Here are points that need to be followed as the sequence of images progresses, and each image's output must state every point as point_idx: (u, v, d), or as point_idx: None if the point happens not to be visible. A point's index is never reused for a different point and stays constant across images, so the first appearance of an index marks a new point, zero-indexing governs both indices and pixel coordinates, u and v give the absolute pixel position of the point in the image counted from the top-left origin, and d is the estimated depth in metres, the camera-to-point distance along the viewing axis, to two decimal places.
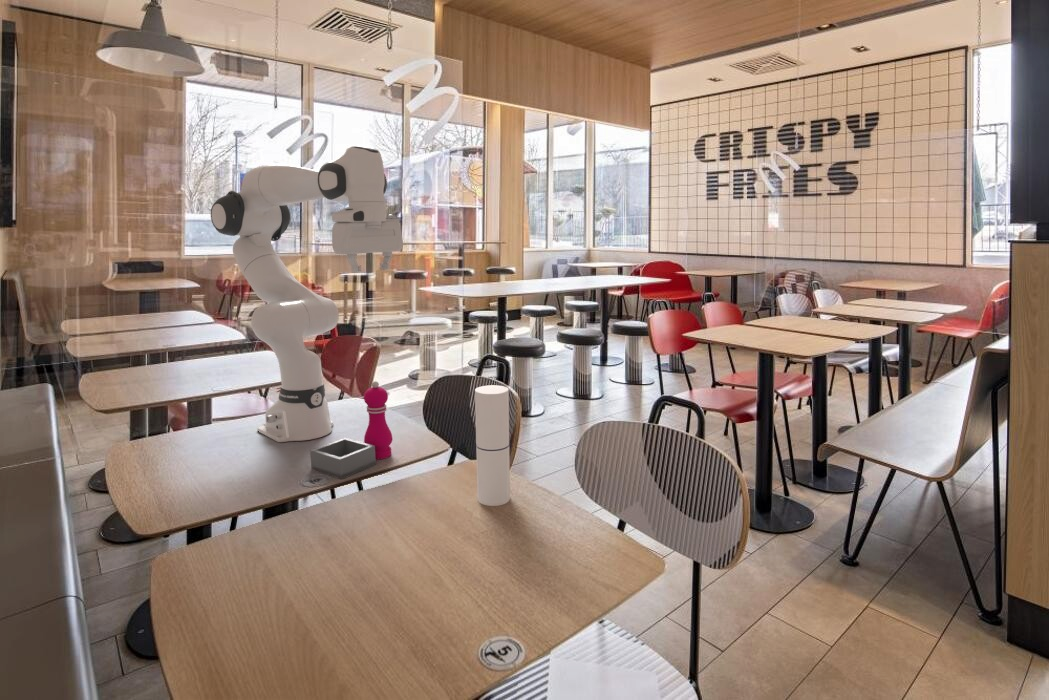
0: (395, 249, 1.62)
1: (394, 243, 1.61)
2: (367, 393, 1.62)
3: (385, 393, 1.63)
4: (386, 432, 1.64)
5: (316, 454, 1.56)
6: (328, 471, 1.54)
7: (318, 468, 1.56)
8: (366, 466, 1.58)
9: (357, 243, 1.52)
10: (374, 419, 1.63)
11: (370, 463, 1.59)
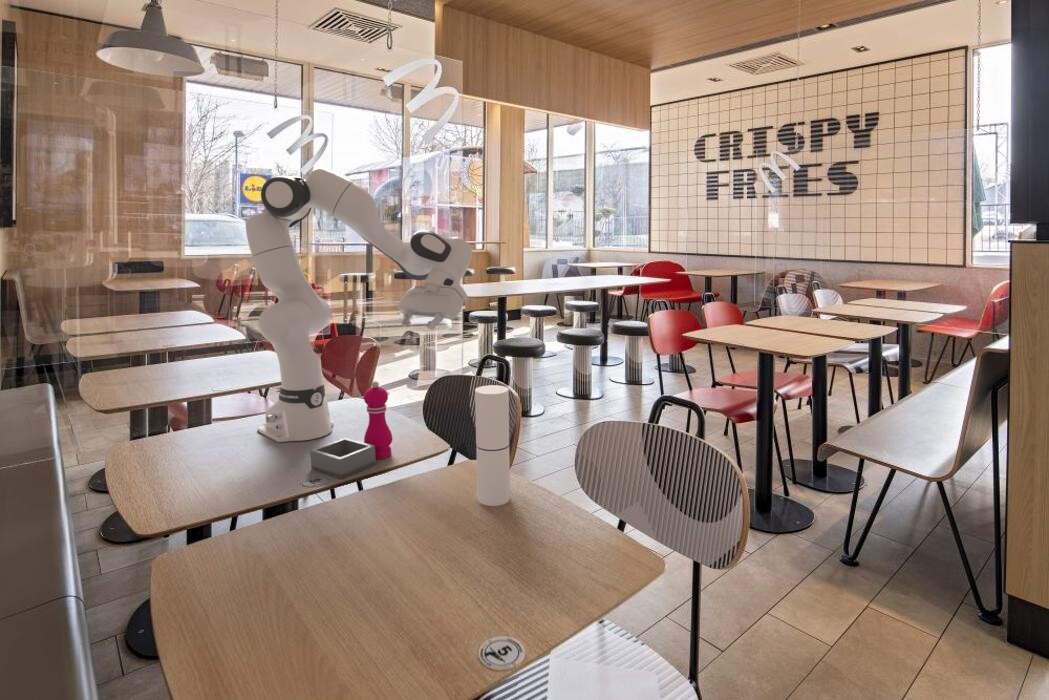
0: None
1: None
2: (367, 393, 1.62)
3: (385, 393, 1.63)
4: (386, 432, 1.64)
5: (316, 454, 1.56)
6: (328, 471, 1.54)
7: (318, 468, 1.56)
8: (366, 466, 1.58)
9: None
10: (374, 419, 1.63)
11: (370, 463, 1.59)
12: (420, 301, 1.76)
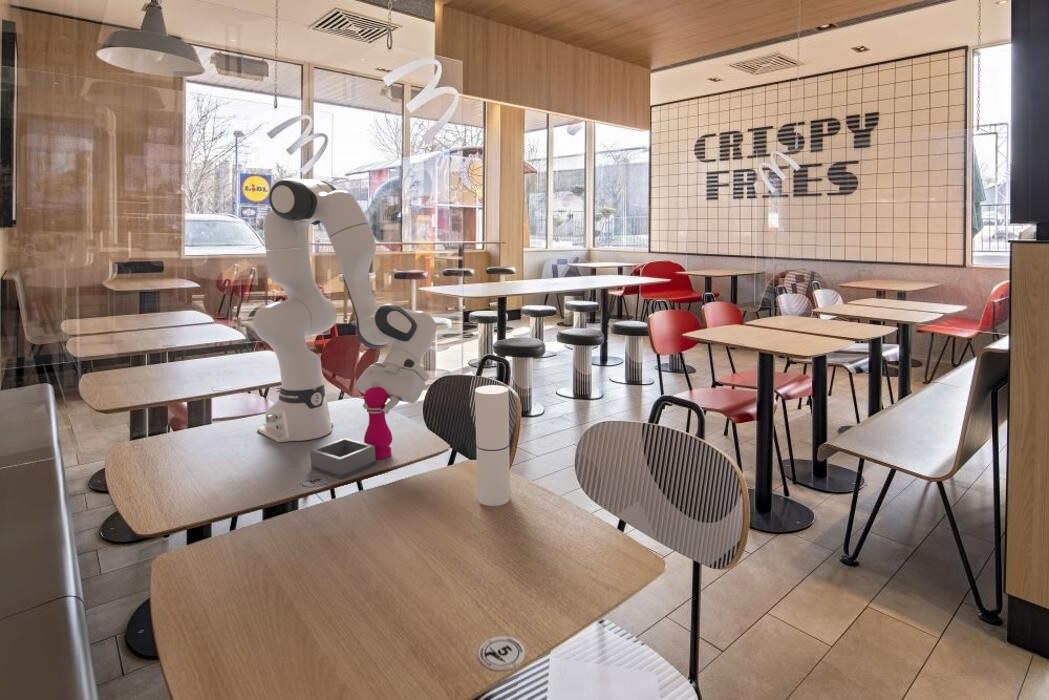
0: None
1: None
2: (367, 393, 1.62)
3: (385, 393, 1.63)
4: (386, 432, 1.64)
5: (316, 454, 1.56)
6: (328, 471, 1.54)
7: (318, 468, 1.56)
8: (366, 466, 1.58)
9: None
10: (374, 419, 1.63)
11: (370, 463, 1.59)
12: (379, 382, 1.67)
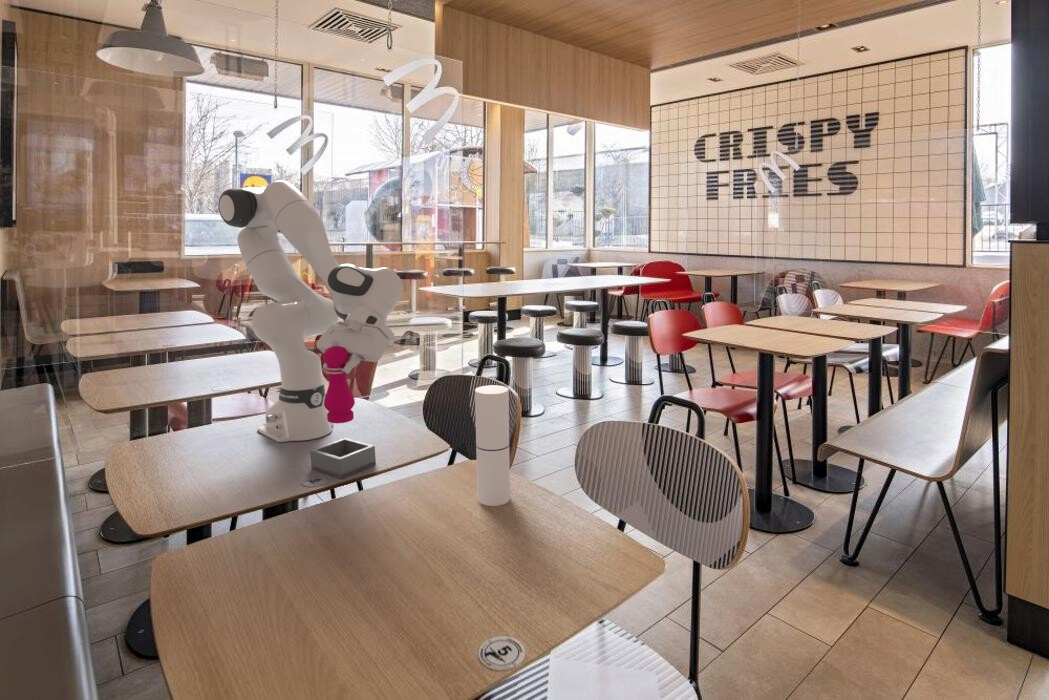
0: None
1: None
2: (326, 352, 1.51)
3: (346, 352, 1.53)
4: (348, 394, 1.54)
5: (316, 454, 1.56)
6: (328, 471, 1.54)
7: (318, 468, 1.56)
8: (366, 466, 1.58)
9: None
10: (334, 380, 1.53)
11: (370, 463, 1.59)
12: (341, 340, 1.57)
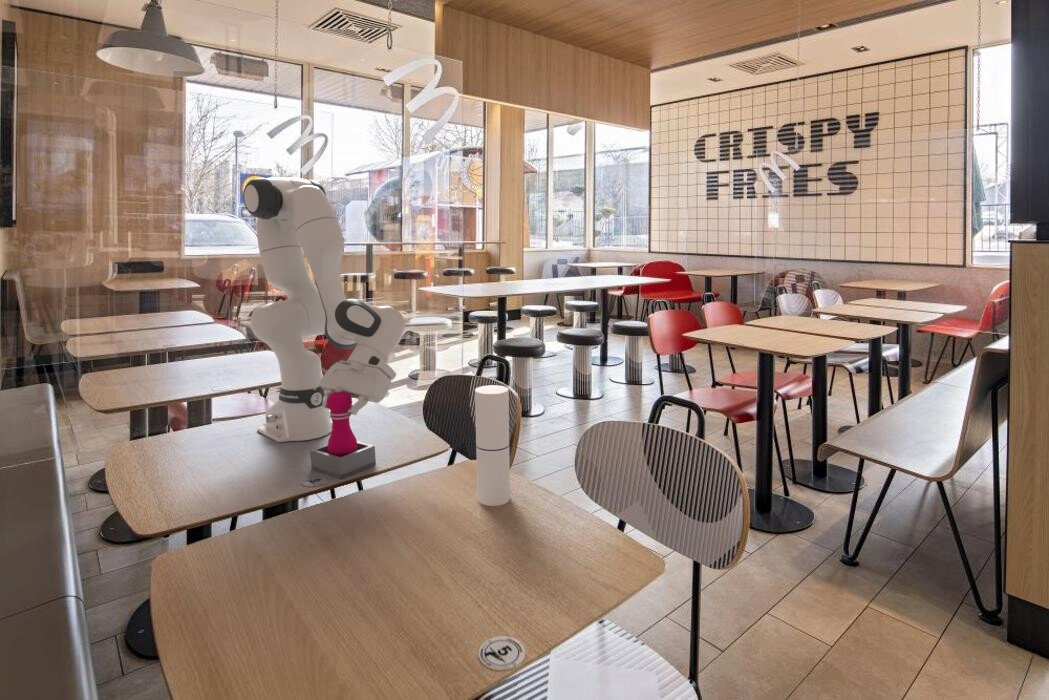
0: None
1: None
2: (330, 398, 1.54)
3: (349, 398, 1.55)
4: (351, 439, 1.56)
5: (316, 454, 1.56)
6: (328, 471, 1.54)
7: (318, 468, 1.56)
8: (366, 466, 1.58)
9: None
10: (337, 425, 1.55)
11: (370, 463, 1.59)
12: (343, 380, 1.59)
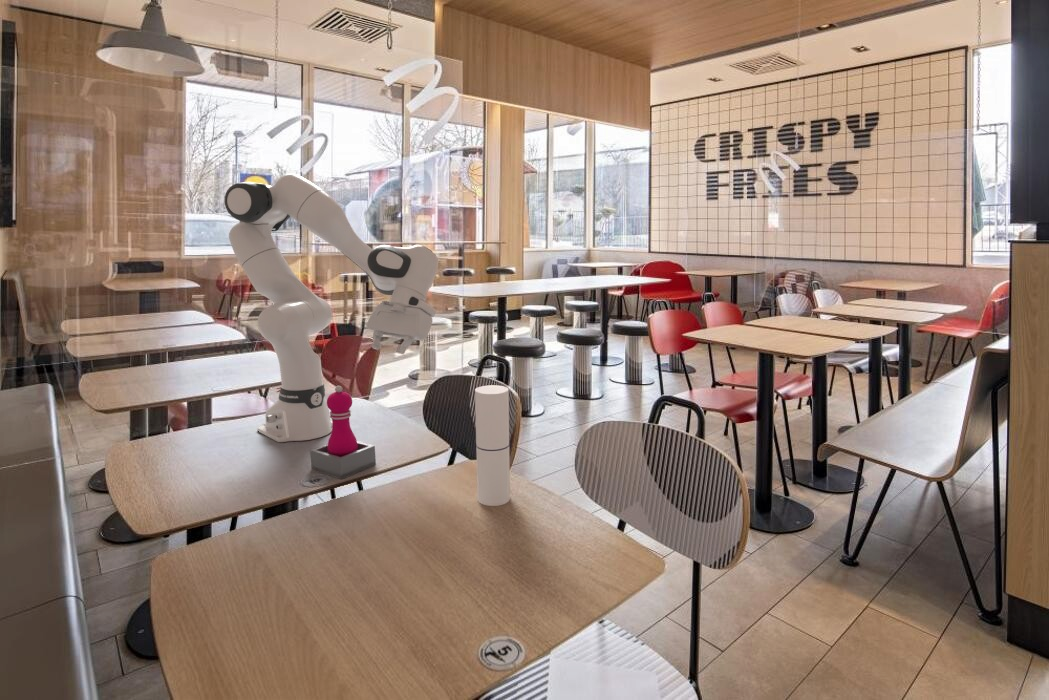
0: None
1: None
2: (330, 398, 1.54)
3: (349, 398, 1.55)
4: (351, 439, 1.56)
5: (316, 454, 1.56)
6: (328, 471, 1.54)
7: (318, 468, 1.56)
8: (366, 466, 1.58)
9: None
10: (337, 425, 1.55)
11: (370, 463, 1.59)
12: (388, 322, 1.68)
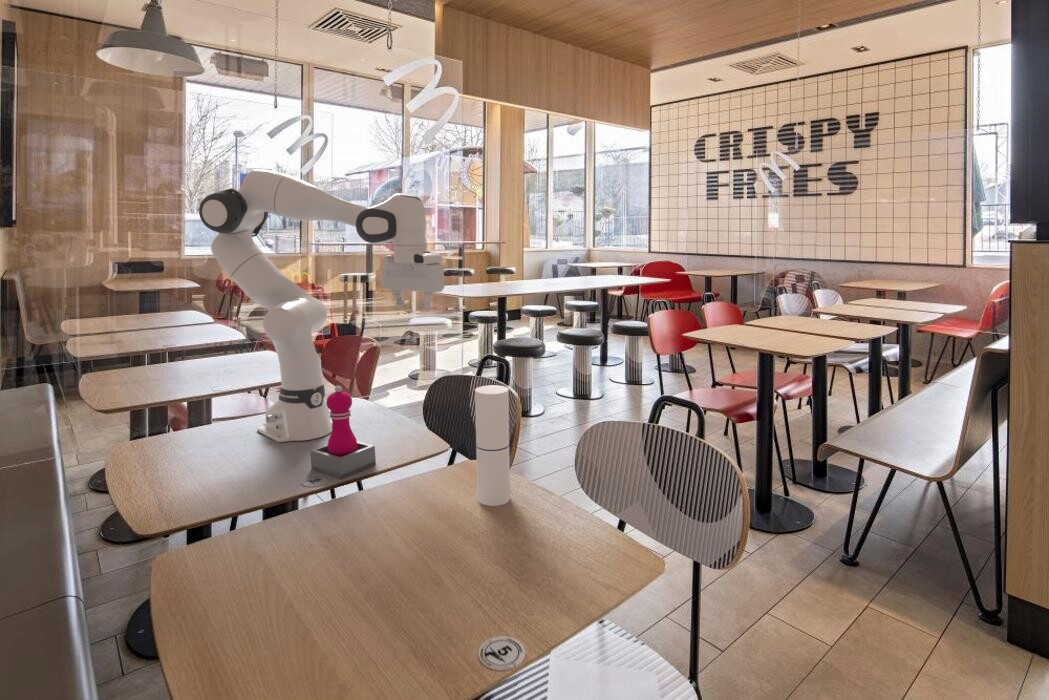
0: None
1: None
2: (329, 398, 1.54)
3: (349, 398, 1.55)
4: (351, 439, 1.56)
5: (316, 454, 1.56)
6: (328, 471, 1.54)
7: (318, 468, 1.56)
8: (366, 466, 1.58)
9: None
10: (337, 425, 1.55)
11: (370, 463, 1.59)
12: (402, 280, 1.71)
